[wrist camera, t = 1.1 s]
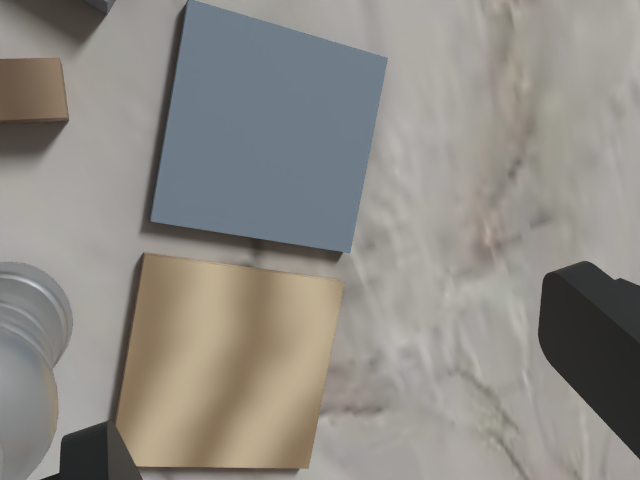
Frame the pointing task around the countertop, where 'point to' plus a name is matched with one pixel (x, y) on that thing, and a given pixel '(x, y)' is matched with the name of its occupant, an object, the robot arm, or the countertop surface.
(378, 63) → the slate mat
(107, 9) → the charcoal brick
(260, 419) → the oak mat
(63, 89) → the walnut brick
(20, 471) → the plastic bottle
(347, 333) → the countertop surface
